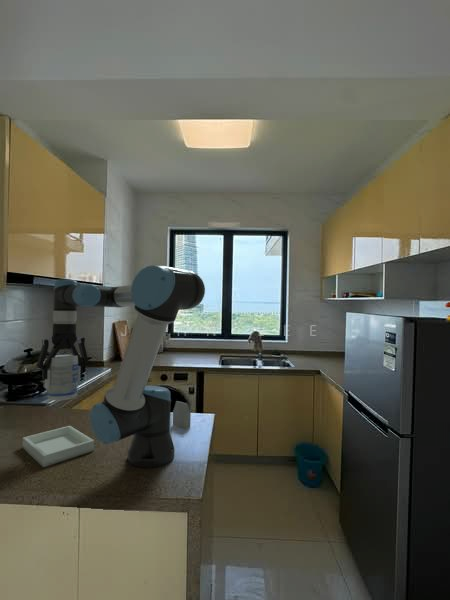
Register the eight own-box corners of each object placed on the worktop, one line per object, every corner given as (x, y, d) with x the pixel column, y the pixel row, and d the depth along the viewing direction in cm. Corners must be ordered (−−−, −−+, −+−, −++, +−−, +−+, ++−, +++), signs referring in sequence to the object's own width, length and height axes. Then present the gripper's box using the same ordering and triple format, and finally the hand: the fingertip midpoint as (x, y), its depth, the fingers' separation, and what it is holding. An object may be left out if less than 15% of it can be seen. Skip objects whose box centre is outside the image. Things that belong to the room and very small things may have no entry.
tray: (93, 450, 109) (94, 440, 109) (43, 467, 97) (43, 455, 97) (69, 434, 122) (69, 425, 122) (22, 447, 110) (22, 437, 110)
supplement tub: (79, 399, 110) (80, 356, 111) (48, 403, 105) (49, 358, 106) (75, 392, 119) (76, 353, 119) (46, 396, 114) (47, 355, 114)
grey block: (184, 429, 130) (184, 405, 130) (172, 425, 134) (173, 402, 134) (190, 427, 133) (190, 403, 133) (178, 423, 137) (179, 400, 137)
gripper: (90, 322, 124) (89, 379, 123) (26, 323, 107) (24, 389, 107) (99, 322, 119) (98, 382, 118) (33, 324, 102) (31, 393, 102)
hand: (62, 386), depth 112 cm, fingers closed on supplement tub, 9 cm apart
